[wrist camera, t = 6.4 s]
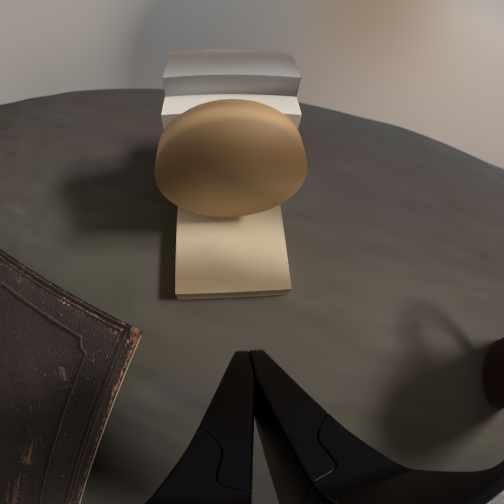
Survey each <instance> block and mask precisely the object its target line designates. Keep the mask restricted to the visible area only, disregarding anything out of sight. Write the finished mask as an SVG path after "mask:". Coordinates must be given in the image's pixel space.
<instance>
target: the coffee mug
mask: <svg viewBox="0 0 504 504" xmlns="http://www.w3.org/2000/svg"><path fill="white" fill-rule="evenodd" d="M483 386H484V391H485V395H486V397H487V400H488V401H489V403H490V404H491V405H492V406H494V407H496V408H504V338H502V339H500V340H498V341H496V342H495V343H494V344H493V345H492V347H491V348H490V350H489V352H488V354H487V357H486V359H485V364H484V370H483Z"/></svg>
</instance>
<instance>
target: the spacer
mask: <svg viewBox="0 0 504 504" xmlns="http://www.w3.org/2000/svg"><path fill="white" fill-rule="evenodd" d="M223 99H244V100H250V101H255V102H259V103H262V104H266V105H268V106H270V107H272V108H275V109H276V110H278V111H280V112H281V113H283V114H284V115H285V116H287V117H288V118H289V119H290V120H291V121H292V122H293V124H294V125H295V126H296V128H297V130H298V127H299V123H300V120H301V116H302V114H301V110H300V107H299V104H298V101H297V97H292V96H277V95H254V94H206V95H183V96H168V97H165V100H164V104H163V109H162V114H161V117H162V123H163V129H164V130H165V129H166V127H167V126H168V125H169V124H170V123H171V122H172V121H173V120H174V119H175V118H176V117H178V116H179V115H180V114H182V113H183V112H185V111H187V110H188V109H190V108H193V107H195V106H197V105H200V104H203V103H207V102H210V101H216V100H223Z"/></svg>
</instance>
